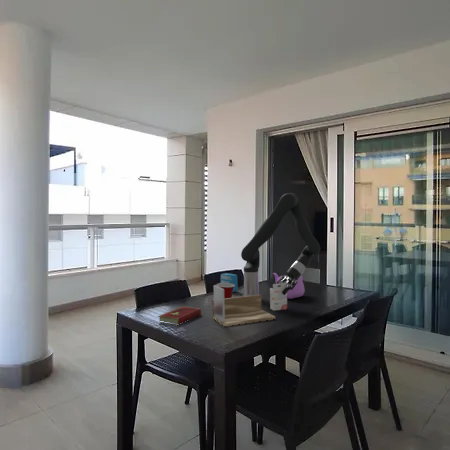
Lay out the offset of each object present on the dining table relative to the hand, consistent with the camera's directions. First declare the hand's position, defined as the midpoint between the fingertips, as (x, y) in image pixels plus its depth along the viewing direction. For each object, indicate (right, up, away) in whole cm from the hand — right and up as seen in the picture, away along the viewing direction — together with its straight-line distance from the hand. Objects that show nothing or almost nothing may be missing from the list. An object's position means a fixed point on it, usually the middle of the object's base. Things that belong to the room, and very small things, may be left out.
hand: (279, 292), depth 203 cm
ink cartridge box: (0, -9, 0) cm, 9 cm away
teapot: (+11, -8, +31) cm, 34 cm away
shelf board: (-21, -10, -18) cm, 29 cm away
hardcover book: (-53, -11, -16) cm, 57 cm away
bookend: (-33, -9, -23) cm, 41 cm away
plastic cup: (-30, -10, +14) cm, 34 cm away
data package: (-27, -9, +50) cm, 58 cm away
